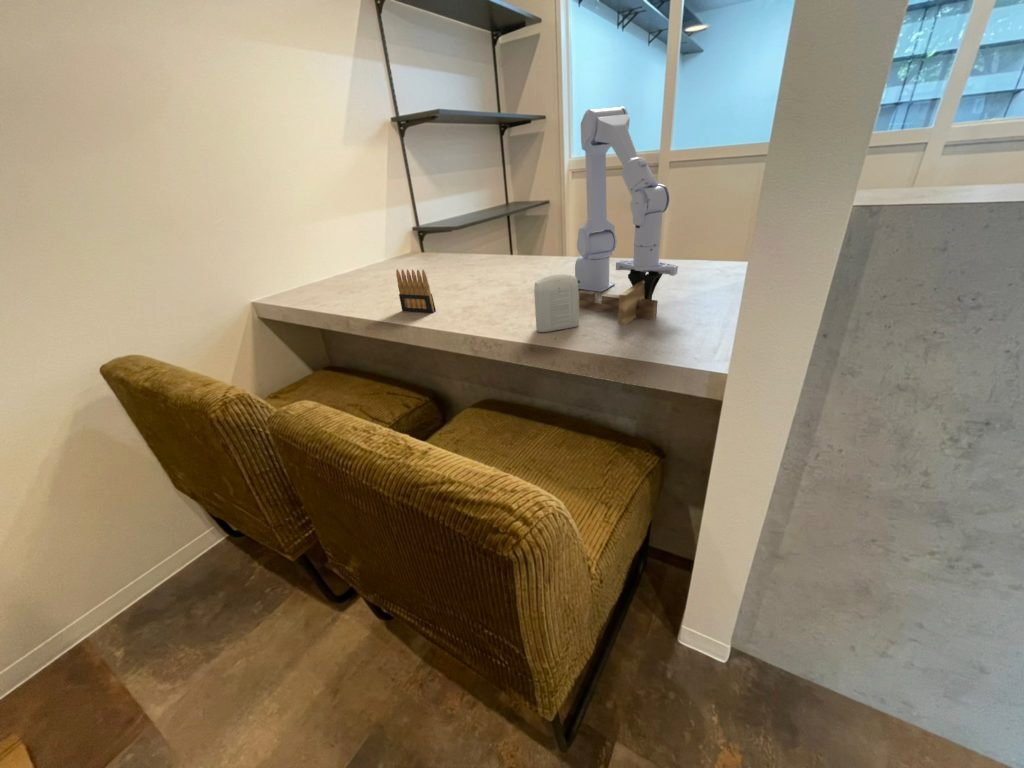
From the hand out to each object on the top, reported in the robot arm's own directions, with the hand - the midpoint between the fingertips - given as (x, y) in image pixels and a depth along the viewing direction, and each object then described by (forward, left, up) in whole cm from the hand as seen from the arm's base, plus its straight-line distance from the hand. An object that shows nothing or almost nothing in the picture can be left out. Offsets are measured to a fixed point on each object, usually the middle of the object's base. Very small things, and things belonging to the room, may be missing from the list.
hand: (643, 301), depth 101 cm
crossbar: (0, -4, -2) cm, 4 cm away
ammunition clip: (-55, -27, -2) cm, 62 cm away
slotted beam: (-5, -4, -2) cm, 7 cm away
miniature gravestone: (-12, -19, -2) cm, 23 cm away
